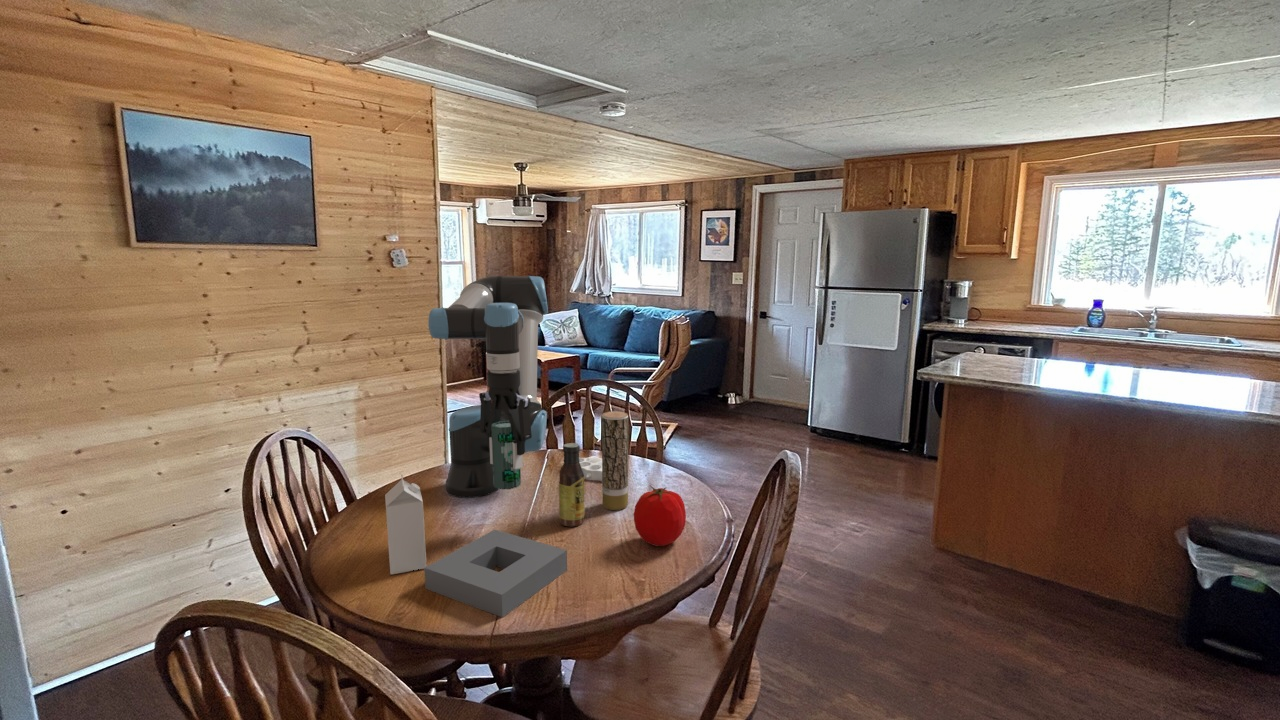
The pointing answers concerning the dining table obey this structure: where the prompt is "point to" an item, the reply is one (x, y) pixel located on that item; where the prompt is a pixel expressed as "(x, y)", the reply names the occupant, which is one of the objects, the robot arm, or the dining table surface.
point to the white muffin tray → (591, 468)
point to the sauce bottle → (571, 487)
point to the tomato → (659, 516)
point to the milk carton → (405, 528)
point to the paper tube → (615, 460)
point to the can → (504, 457)
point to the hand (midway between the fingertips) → (506, 464)
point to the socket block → (490, 590)
